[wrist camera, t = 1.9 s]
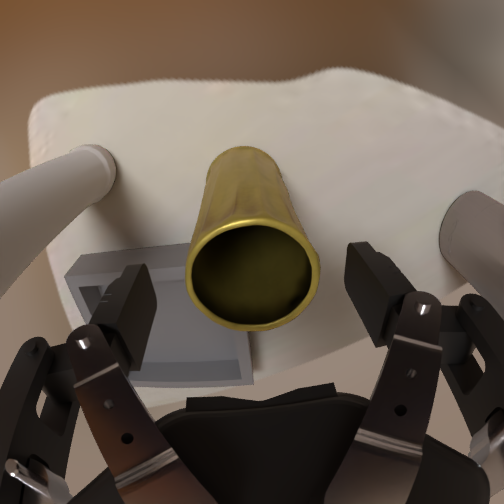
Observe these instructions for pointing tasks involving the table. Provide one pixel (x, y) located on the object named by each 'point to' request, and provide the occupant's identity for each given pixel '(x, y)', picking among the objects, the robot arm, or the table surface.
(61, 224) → the bottle
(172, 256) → the bin
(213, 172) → the vase
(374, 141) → the table surface
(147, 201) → the table surface
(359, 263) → the robot arm
